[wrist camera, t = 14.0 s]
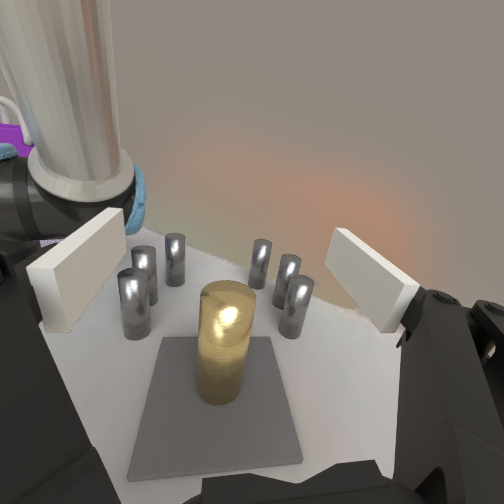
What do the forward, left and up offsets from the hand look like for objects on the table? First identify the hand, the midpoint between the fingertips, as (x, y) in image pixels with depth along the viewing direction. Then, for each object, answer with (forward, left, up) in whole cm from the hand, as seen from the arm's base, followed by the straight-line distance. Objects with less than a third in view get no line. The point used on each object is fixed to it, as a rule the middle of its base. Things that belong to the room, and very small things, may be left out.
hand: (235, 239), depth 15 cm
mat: (-3, +5, -22) cm, 23 cm away
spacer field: (-14, +18, -22) cm, 32 cm away
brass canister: (-3, +5, -22) cm, 22 cm away
